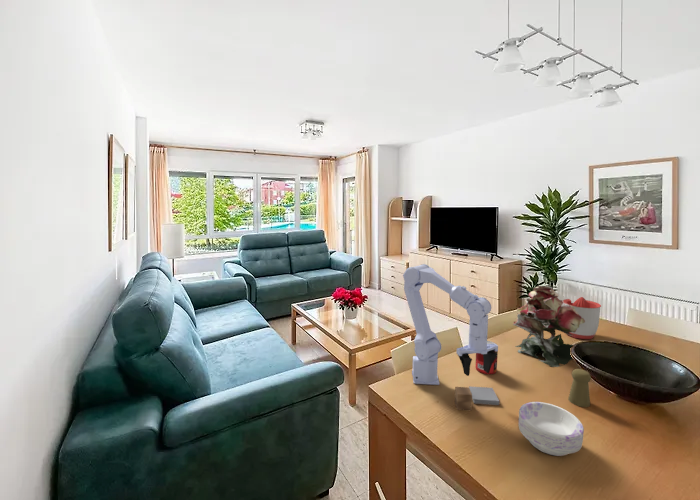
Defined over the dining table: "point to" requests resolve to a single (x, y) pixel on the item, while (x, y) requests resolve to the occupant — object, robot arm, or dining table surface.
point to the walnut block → (463, 398)
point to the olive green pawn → (580, 388)
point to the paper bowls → (550, 428)
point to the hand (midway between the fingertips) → (476, 372)
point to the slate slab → (484, 395)
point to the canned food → (480, 361)
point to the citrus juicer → (586, 317)
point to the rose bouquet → (547, 325)
